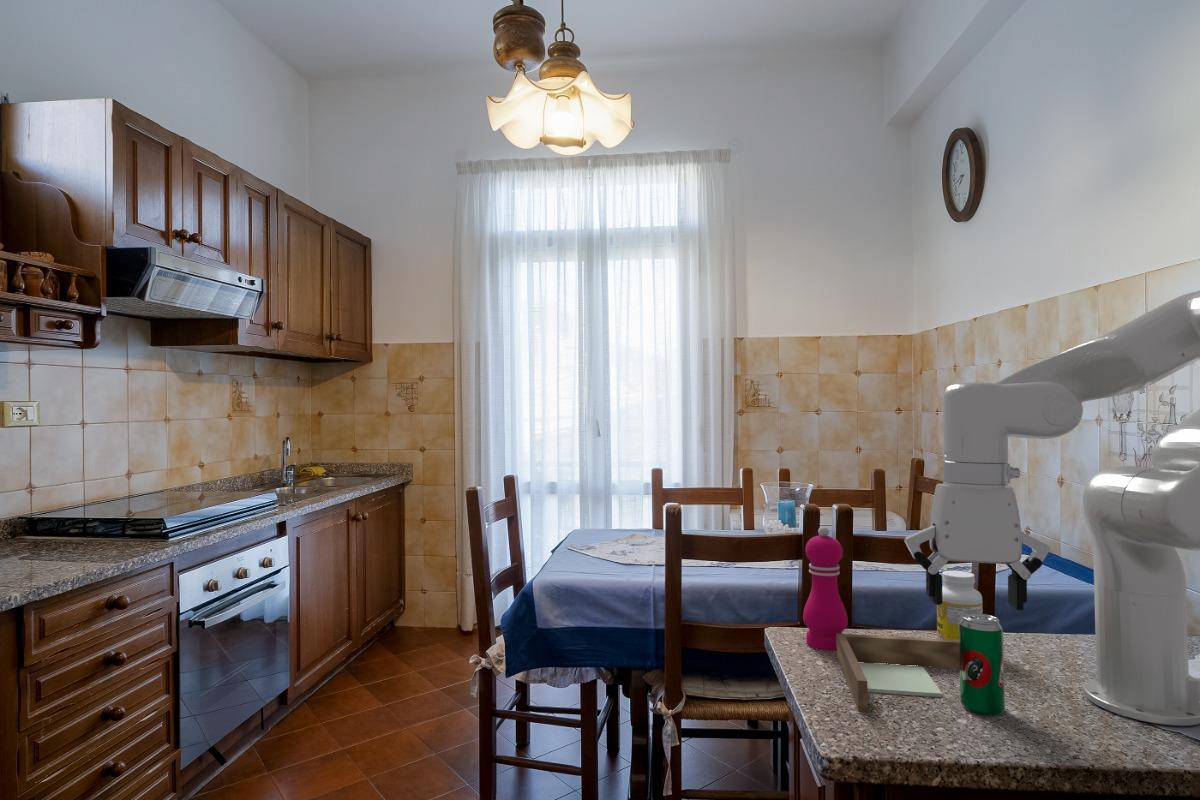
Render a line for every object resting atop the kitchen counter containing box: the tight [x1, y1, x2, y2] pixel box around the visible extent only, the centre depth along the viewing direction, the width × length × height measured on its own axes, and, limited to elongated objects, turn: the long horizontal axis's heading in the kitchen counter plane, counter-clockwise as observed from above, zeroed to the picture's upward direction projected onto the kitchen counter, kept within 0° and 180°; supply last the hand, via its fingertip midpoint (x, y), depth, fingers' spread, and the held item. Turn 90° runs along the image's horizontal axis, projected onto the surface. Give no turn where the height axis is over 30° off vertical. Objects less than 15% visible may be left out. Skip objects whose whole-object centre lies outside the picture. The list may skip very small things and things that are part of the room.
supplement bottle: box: [936, 570, 984, 640], centre depth 108 cm, size 7×7×13 cm
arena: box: [836, 633, 960, 713], centre depth 94 cm, size 20×19×4 cm
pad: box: [859, 663, 944, 698], centre depth 96 cm, size 10×10×1 cm
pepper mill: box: [802, 526, 849, 652], centre depth 112 cm, size 7×7×20 cm
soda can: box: [959, 613, 1006, 717], centre depth 87 cm, size 5×5×12 cm
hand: (975, 604), depth 87 cm, fingers open, 9 cm apart
